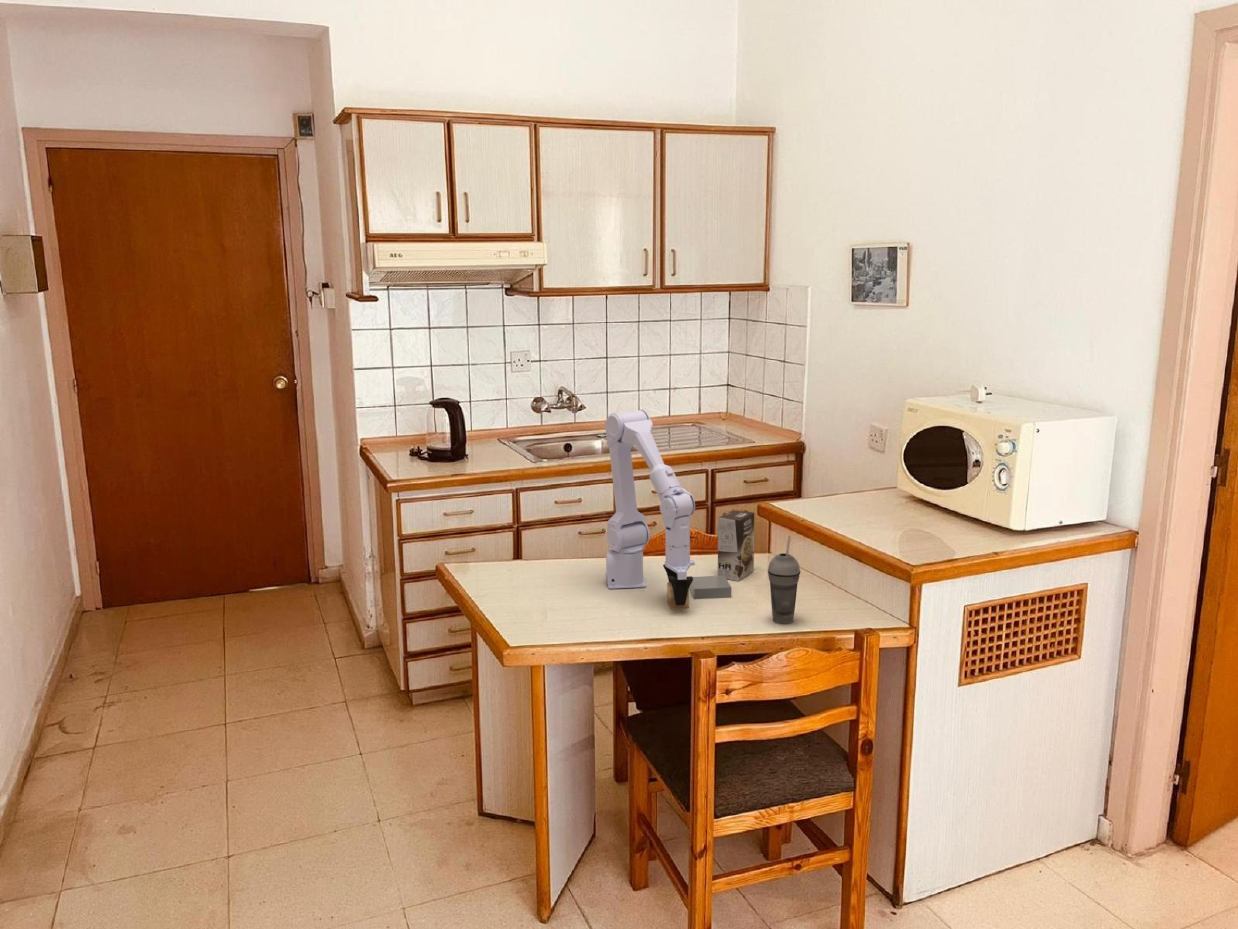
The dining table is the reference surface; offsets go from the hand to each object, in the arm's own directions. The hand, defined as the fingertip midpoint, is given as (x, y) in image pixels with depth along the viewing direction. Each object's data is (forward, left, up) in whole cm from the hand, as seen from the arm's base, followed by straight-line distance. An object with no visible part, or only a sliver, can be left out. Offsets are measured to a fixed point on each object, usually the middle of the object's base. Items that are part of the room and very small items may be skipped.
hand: (677, 599), depth 229 cm
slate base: (+9, +8, -1) cm, 12 cm away
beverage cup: (+22, -13, -2) cm, 26 cm away
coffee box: (+18, +20, -2) cm, 27 cm away
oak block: (0, 0, -2) cm, 2 cm away
